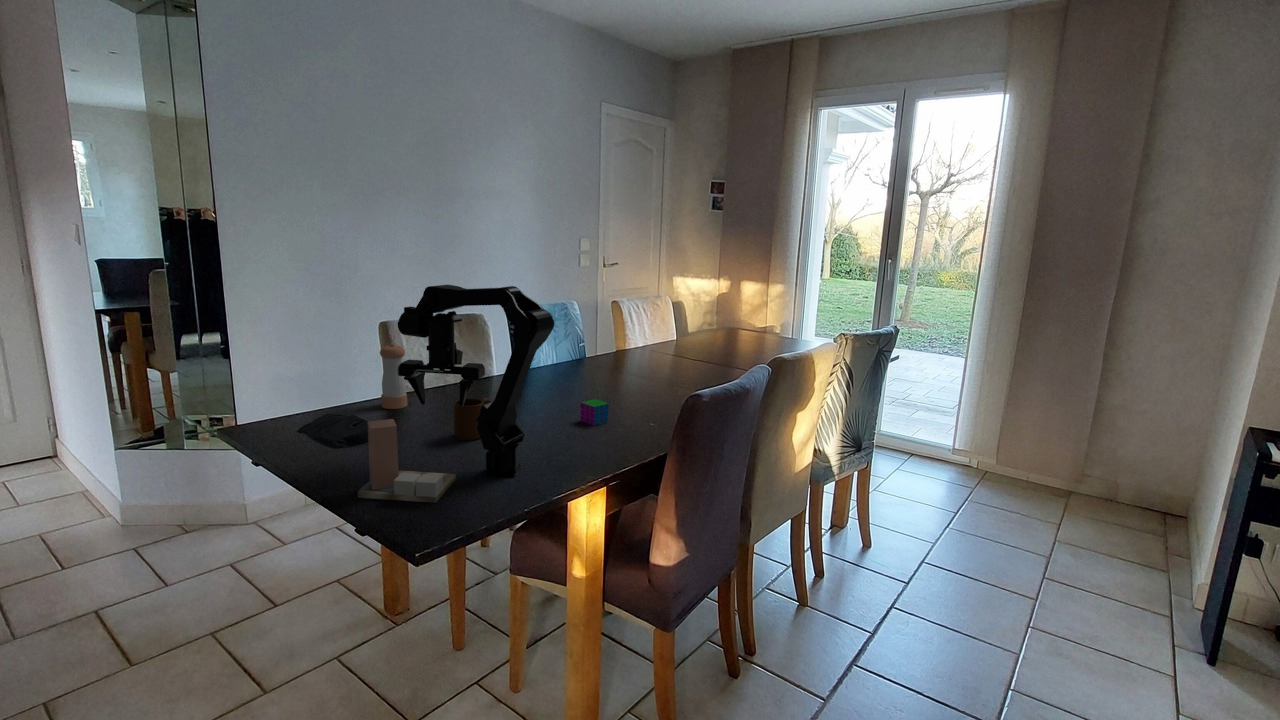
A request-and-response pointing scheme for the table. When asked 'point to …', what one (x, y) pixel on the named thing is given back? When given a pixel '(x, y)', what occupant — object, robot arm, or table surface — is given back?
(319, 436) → the dark slate chunk
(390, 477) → the tower block
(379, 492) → the board
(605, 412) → the puzzle toy
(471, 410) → the mug
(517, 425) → the robot arm
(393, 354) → the salt shaker
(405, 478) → the built blocks
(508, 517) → the table surface
